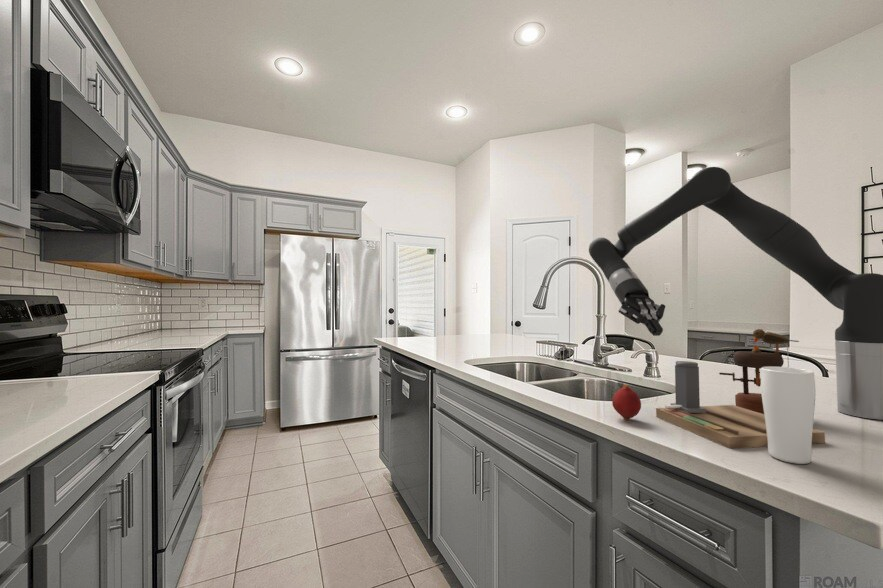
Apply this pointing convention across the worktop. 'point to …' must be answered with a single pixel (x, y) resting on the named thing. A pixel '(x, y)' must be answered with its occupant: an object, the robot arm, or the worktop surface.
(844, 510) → the worktop surface
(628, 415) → the onion
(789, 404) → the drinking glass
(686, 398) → the peg slider
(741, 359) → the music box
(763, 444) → the board
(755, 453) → the worktop surface
